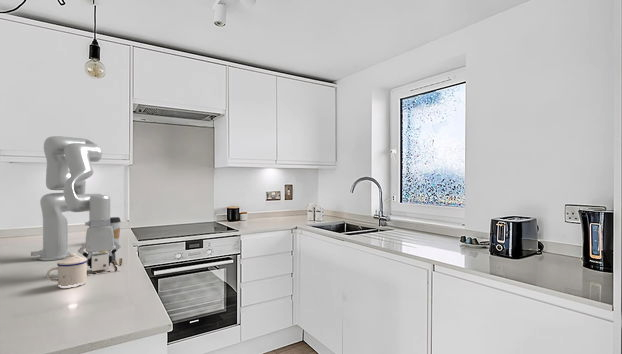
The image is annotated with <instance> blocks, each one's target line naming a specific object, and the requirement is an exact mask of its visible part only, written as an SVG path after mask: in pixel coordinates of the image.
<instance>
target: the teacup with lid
mask: <svg viewBox="0 0 622 354" xmlns="http://www.w3.org/2000/svg"><path fill="white" fill-rule="evenodd" d="M70 253H71V254H69V257H66V258H64V259H59V260H58V262H56V263H57V265H56V266H57V267H56V266H55V267H52V268H50V269H48V270H47V272H46V277H47V279H48V280H49V281H51V282H57V286H58V285H61V286H68V285H74V284H78V283H82V282H84V281H86V280H87V277H88V276H87V274H88V273H87V271H88V270H87V269H88V259H87V258H86V257H83V256H82V257H81V256H80V255H77V254H76V253H75V252H74V253H73V252H70ZM56 270H57V279H56V278H52V277H51V276H50V273H51V272H52V271H56ZM87 281H88V280H87Z"/></svg>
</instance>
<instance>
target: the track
mask: <svg viewBox="0 0 622 354" xmlns="http://www.w3.org/2000/svg"><path fill="white" fill-rule="evenodd" d="M113 262H114V263H113ZM113 262H112V263H113V265H114V264H115V265H118V266H119V264H122V265H123V258H122V257H120V258H119V259H118V261H117V260H116V259H115V261H113ZM115 265H114V266H115Z"/></svg>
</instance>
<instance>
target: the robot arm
mask: <svg viewBox="0 0 622 354" xmlns="http://www.w3.org/2000/svg"><path fill="white" fill-rule="evenodd" d="M43 151H44V156H45V158H46V170H45V187H46V188H47V189H48V190H49V191H63V192H49V193H46V194H44V195H42V196H41V198H40V202H39V203H40V204H39V205H40V208H41V213H42V249H40V250H38V251H30V256H31V257H32V256H33V257H36V256H38V260H39V261H45V262H47V261H59V260H63V259H65V258H66V257H69V254H71V253H72V252H68V241H69V239H68V235H69V234H68V232H69V231H68V228H69V227H68V226H69V225H68V219H67V217H66V216H65V215H64V214H63V213H66V212H72V213H82V212H84V213H85V212H88V213H89V217H88V218H89V220H88V221H87V222H85V223H84V224H85V225H84V226H88V227H87V229H86V233H85V243H83V245H82V246H81V247H80V248H78V250H77V252H78V253H79V254H80V255H82V257H83V256H84V258H86V259H87V267H89V269H91V268H92V259H91V256H92V254H93V253H98V252H100V251H108V253H109V267H110V266H111V264H112V263H113V262H112V255H113V254H114V253H115V254H116V253H117V251H118V250H119V249H120V248H121V245H120V244H119V243H116V242H115V241H114V233H113V227H112V226H110V218H111V197H110V196H109V195H108V194H101V193H86V180H88V179H89V178H91V177H92V176H93V174H94V170H93V165H92V162H94V163H96V162H100V161H101V159H102V156H103V152H102V149H101V147H100V146H99V145H98V144H97V143H95V142H93V141H91V140H89V139H88V138H82V137H81V138H80V137H71V136H70V137H69V136H58V135H57V136H49V137H47V138H45V140H44V143H43Z"/></svg>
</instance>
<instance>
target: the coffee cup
mask: <svg viewBox="0 0 622 354" xmlns="http://www.w3.org/2000/svg"><path fill="white" fill-rule="evenodd" d="M110 226H112V227H113V233H114V241H115V242H116V243H117V244H119V242H120V233H121V218H120V217H118V216H117V217H115V216H113V217H111V216H110Z"/></svg>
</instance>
